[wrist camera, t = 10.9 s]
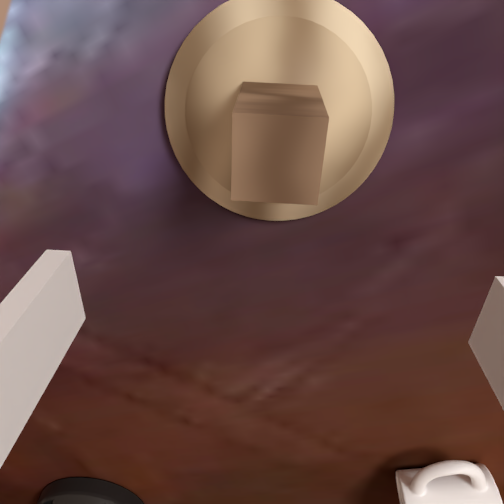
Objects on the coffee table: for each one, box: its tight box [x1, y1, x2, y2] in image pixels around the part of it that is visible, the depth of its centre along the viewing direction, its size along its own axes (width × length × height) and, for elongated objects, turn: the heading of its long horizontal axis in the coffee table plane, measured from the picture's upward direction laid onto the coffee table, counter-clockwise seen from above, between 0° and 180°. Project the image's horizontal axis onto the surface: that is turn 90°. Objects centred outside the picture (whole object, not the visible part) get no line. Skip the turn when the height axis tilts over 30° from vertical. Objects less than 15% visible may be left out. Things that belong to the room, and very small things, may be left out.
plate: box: [165, 0, 394, 221], centre depth 31 cm, size 16×16×1 cm
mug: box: [396, 460, 503, 504], centre depth 49 cm, size 12×10×8 cm
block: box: [231, 81, 329, 205], centre depth 27 cm, size 5×5×8 cm
